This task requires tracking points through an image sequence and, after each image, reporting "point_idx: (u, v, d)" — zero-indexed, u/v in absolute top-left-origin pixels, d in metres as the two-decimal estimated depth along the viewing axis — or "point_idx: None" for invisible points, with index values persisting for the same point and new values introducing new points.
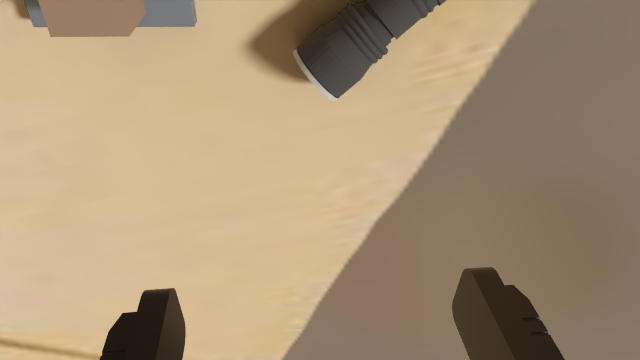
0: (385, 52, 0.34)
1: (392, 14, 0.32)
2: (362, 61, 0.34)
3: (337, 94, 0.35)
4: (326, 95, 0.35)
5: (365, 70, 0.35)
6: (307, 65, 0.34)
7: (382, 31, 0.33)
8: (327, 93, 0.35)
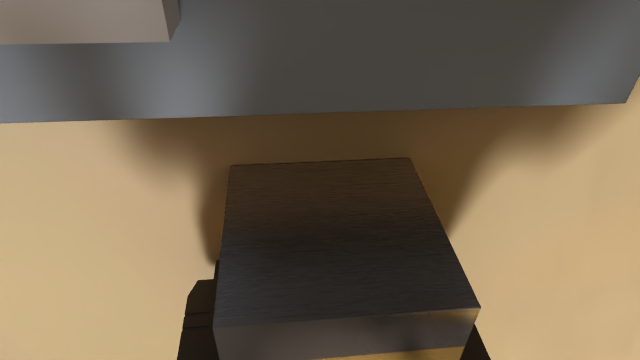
0: None
1: None
2: None
3: None
4: None
5: None
6: None
7: None
8: None
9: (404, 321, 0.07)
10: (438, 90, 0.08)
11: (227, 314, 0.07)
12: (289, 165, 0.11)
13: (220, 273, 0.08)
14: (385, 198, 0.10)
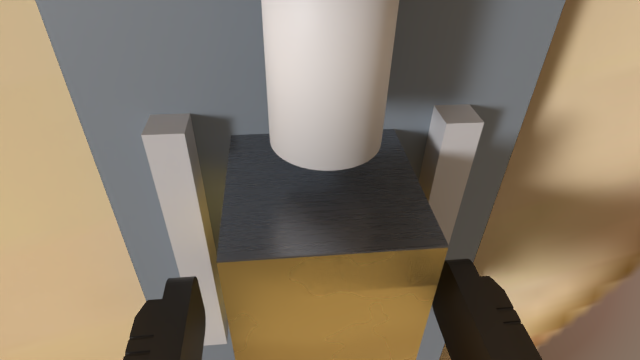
0: None
1: None
2: None
3: None
4: None
5: None
6: None
7: None
8: None
9: (382, 258, 0.08)
10: None
11: (229, 250, 0.08)
12: None
13: (222, 219, 0.09)
14: (370, 161, 0.11)
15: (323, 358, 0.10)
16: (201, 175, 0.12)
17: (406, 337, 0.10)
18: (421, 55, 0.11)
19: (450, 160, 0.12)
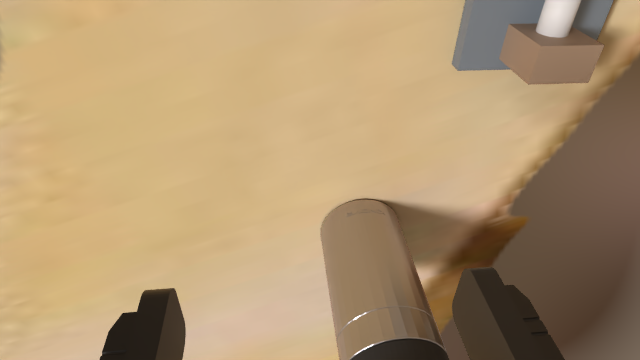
0: None
1: None
2: None
3: None
4: None
5: None
6: None
7: None
8: None
9: None
10: (473, 24, 0.35)
11: None
12: None
13: None
14: None
15: None
16: None
17: None
18: None
19: None
